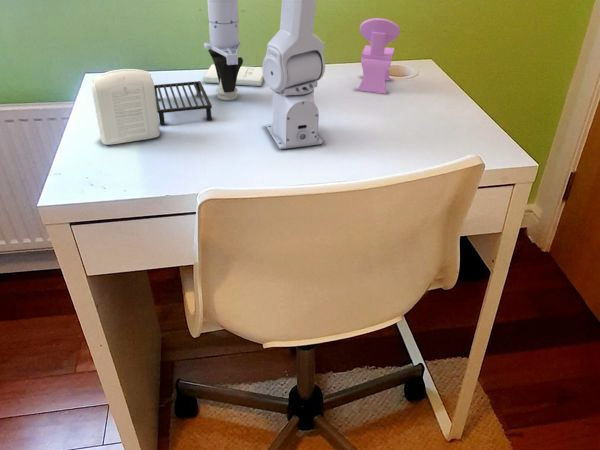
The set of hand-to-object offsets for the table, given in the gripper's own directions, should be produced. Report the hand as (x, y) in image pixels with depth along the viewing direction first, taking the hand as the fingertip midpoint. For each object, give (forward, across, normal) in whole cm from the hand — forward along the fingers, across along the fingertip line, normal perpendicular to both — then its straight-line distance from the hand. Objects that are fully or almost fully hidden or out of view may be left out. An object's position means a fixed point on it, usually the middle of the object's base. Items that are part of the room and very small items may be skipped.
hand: (226, 87), depth 113 cm
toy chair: (+2, +1, +33) cm, 33 cm away
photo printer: (+2, +14, -20) cm, 25 cm away
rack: (+2, +4, -10) cm, 11 cm away
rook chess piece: (+2, 0, 0) cm, 2 cm away
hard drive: (+2, -10, +4) cm, 11 cm away
